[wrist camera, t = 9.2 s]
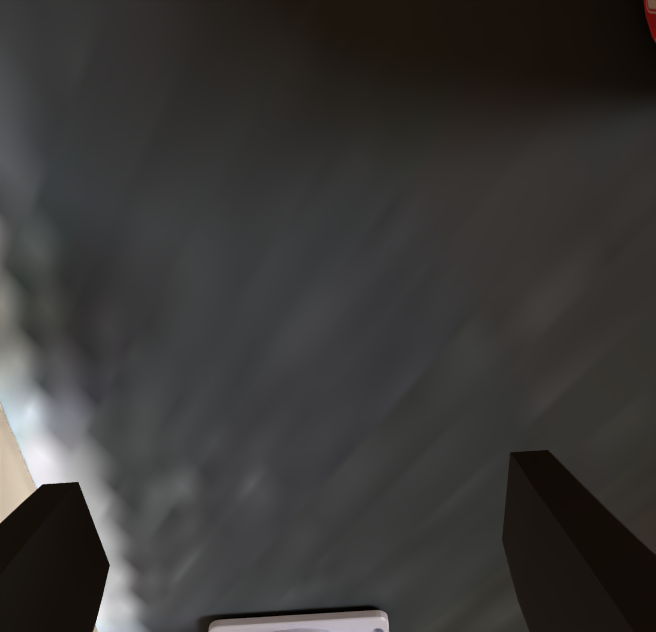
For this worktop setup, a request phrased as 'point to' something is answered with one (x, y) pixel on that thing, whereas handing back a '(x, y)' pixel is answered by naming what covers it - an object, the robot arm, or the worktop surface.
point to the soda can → (651, 16)
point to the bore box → (12, 473)
